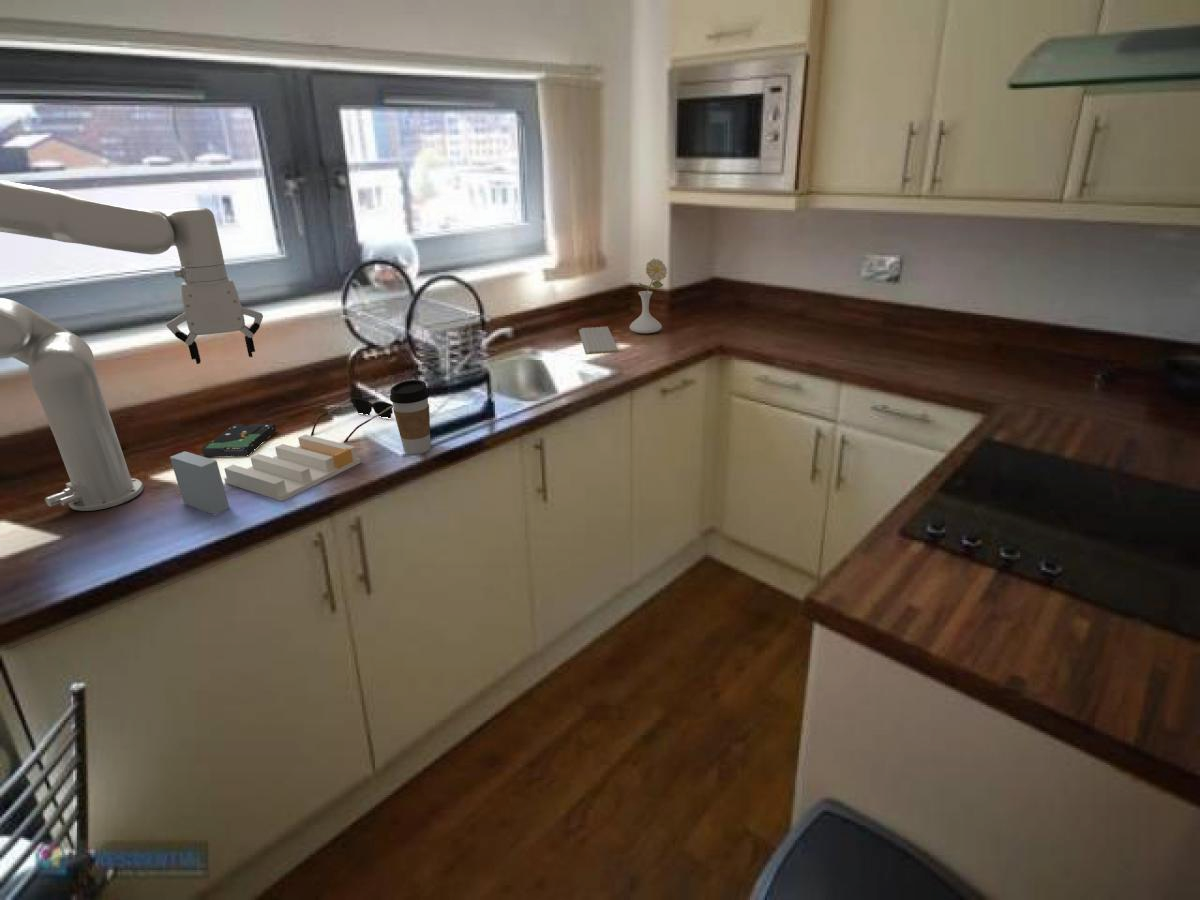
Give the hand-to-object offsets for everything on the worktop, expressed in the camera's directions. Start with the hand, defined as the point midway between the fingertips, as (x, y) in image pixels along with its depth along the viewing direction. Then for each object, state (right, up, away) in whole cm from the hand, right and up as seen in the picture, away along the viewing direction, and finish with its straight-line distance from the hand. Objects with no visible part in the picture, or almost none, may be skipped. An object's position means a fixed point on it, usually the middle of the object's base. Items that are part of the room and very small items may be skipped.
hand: (225, 358), depth 145 cm
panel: (+1, -30, -8) cm, 31 cm away
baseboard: (+75, +17, +94) cm, 122 cm away
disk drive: (-7, -18, +20) cm, 28 cm away
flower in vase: (+94, +23, +103) cm, 141 cm away
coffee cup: (+36, -19, +14) cm, 43 cm away
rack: (+12, -23, +4) cm, 27 cm away
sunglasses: (+17, -14, +28) cm, 35 cm away
